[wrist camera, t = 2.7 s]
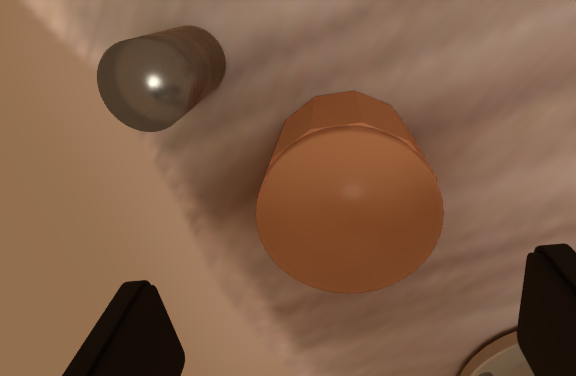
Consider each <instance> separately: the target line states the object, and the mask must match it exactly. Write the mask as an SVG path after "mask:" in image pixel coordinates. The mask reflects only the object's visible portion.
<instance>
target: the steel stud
mask: <svg viewBox="0 0 576 376" xmlns="http://www.w3.org/2000/svg"><path fill="white" fill-rule="evenodd" d="M225 67H226V63H225V56H224V53H223V50H222V48H221V46H220V44H219V43H218V41H217V40H216V39H215V38H214V37H213V36H212V35H211V34H210V33H208V32H207V31H205V30H203V29H201V28H198V27H194V26H183V27H178V28H174V29H170V30H166V31H162V32H157V33H153V34H149V35H145V36H140V37H136V38H132V39H128V40H124V41H120V42H118V43H116V44H114V45H112V46H111V47H110V48H109V49H108V50H107V51H106V52H105V53H104V54H103V56H102V58H101V60H100V62H99V65H98V70H97V83H98V88H99V92H100V95H101V97H102V99H103V101H104V103H105V105H106V106H107V108H108V109H109V110H110V112H111V113H112V114H113V115H114V116H115V117H116V118H117V119H118V120H120V121H121V122H122V123H124V124H125V125H127V126H129V127H131V128H134V129H136V130H140V131H145V132H156V131H161V130H164V129H166V128H168V127H170V126H172V125H173V124H174V123H175V122H177V121H178V120H179V119H180V118H181V117H182V116H184V115H185V114H186V113H187V112H188V111H190V110H191V109H192V108H193V107H194V106H196V105H197V104H198V103H199V102H200V101H202V100H203V99H204V98H205V97H206V96H207V95H209V94H210V93H211V92H212V91H213V90H215V89H216V88H217V87H218V86H219V84H220V83H221V81H222V79H223V77H224V74H225Z"/></svg>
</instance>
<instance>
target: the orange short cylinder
mask: <svg viewBox="0 0 576 376" xmlns="http://www.w3.org/2000/svg"><path fill="white" fill-rule="evenodd" d="M257 198H258V200H257V207H256V222H257V228H258V232H259V236H260V239H261V241H262V243H263V245H264V247H265V249H266V251H267V252H268V254H269V255H270V257H271V258H272V259H273V260H274V262H275V263H276V264H277V265H278V266H279V267H280V268H281V269H282V270H284V271H285V272H286V273H287V274H289V275H290V276H292V277H293V278H295V279H297V280H298V281H300V282H302V283H304V284H306V285H309V286H311V287H314V288H317V289H321V290H325V291H330V292H336V293H361V292H368V291H373V290H378V289H381V288H384V287H387V286H389V285H392V284H394V283H396V282H398V281H400V280H402V279H403V278H405V277H407V276H408V275H410V274H411V273H412V272H413V271H415V270H416V269H417V268H418V267H419V266H420V265H421V264H422V263H423V262H424V261H425V260H426V259H427V257H428V256H429V255H430V254H431V252H432V250H433V249H434V247H435V245H436V243H437V241H438V238H439V236H440V233H441V229H442V225H443V215H444V212H443V201H442V197H441V193H440V190H439V188H438V185H437V177H436V176H435V174H434V172H433V170H432V169H431V167H430V165H429V163H428V161H427V160H426V158H425V156H424V154H423V153H422V151H421V149H420V147H419V145H418V144H417V142H416V140H415V138H414V137H413V135H412V134H411V132H410V131H409V129H408V128H407V127H406V125H405V124H404V122H403V121H402V120H401V118H400V117H399V116H398V114H397V113H396V111H395V110H394V109H393V107H392V106H391V105H389V104H387V103H384V102H382V101H379V100H377V99H374V98H372V97H369V96H367V95H364V94H362V93H359V92H357V91H350V92H343V93H336V94H329V95H323V96H316V97H314V98H313V99H312V100H310V101H309V102H308V103H307V104H305V105H304V106H303V107H302V108H300V109H299V110H298V111H297V112H295V113H294V114H293V115H291V116H290V117H289V118H288V119H286V121H285V123H284V126H283V129H282V131H281V134H280V137H279V139H278V142H277V145H276V147H275V150H274V152H273V155H272V158H271V161H270V163H269V166H268V169H267V172H266V175H265V177H264V180H263V183H262V186H261V188H260V191H259V194H258V197H257Z"/></svg>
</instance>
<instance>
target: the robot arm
mask: <svg viewBox="0 0 576 376" xmlns="http://www.w3.org/2000/svg"><path fill="white" fill-rule="evenodd" d="M184 363H185V354H184V351H183V348H182V346H181V343H180V341H179V339H178V337H177V334H176V332H175V330H174V328H173V325H172V323H171V320H170V318H169V316H168V314H167V311H166V309H165V307H164V305H163V302H162V300H161V297H160V295H159V293H158V290H157V288H156V287H155V286H154V285H151V284H150V283H149V282H148V281H145V280H142V281H131V282H125V283H123V284H122V285H121V287H120V288H119V290H118V291H117V293H116V294H115V296H114V297H113V299H112V300H111V302H110V303H109V305H108V307H107V308H106V310H105V311H104V313H103V314H102V316H101V317H100V319H99V320H98V322H97V323H96V325H95V326H94V328H93V330H92V331H91V332H90V334H89V336H88V337H87V338H86V340H85V342H84V343H83V345H82V346H81V348H80V349H79V351H78V352H77V354H76V355H75V357H74V359H73V360H72V362H71V363H70V364H69V366H68V368H67V369H66V371H65V372H64V374H63V375H62V376H181V373H182V370H183V367H184ZM460 376H576V252H575V251H574V250H573V249H572V248H571V247H570V246H569V245H567V244H553V245H542V246H537V247H536V248H535V251H534V253H529V254H528V255H527V260H526V268H525V275H524V282H523V290H522V297H521V304H520V312H519V319H518V327H517V331H515V332H512V333H510V334H508V335H505V336H503V337H501V338H499V339H497V340H496V341H494V342H492V343H491V344H489V345H487V346H486V347H485V348H483V349H482V350H481V351H480V352H479V353H477V354H476V355H475V356H474V357H473V358H472V359H471V360H470V361H469V362H468V364H467V365H466V366H465V367H464V369H463V370H462V372H461V374H460Z"/></svg>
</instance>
